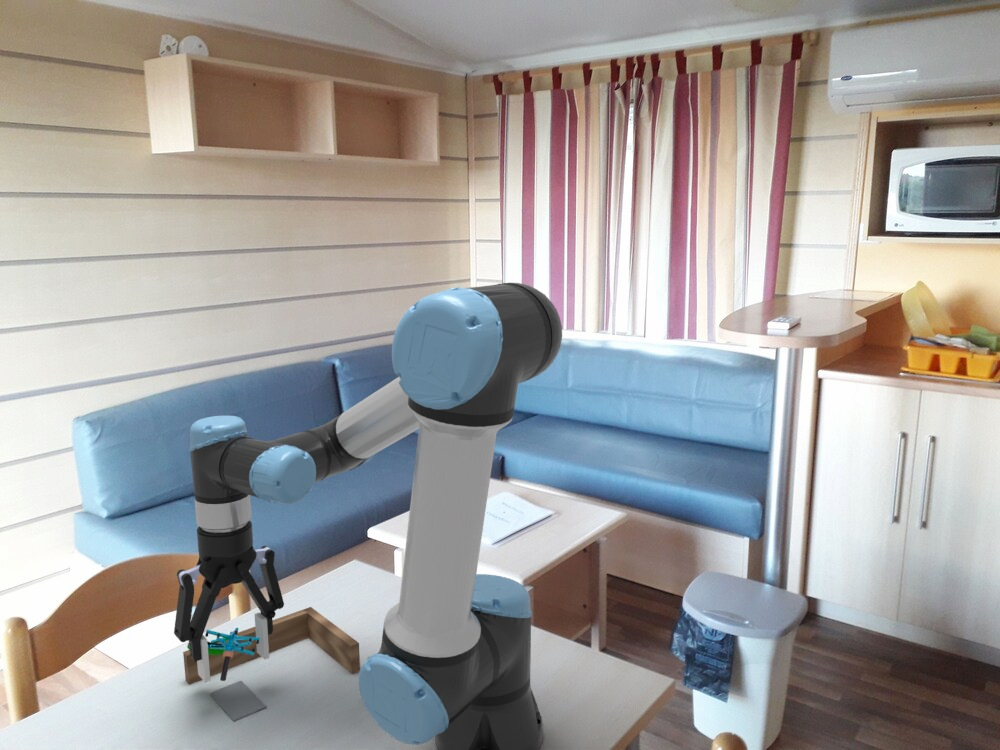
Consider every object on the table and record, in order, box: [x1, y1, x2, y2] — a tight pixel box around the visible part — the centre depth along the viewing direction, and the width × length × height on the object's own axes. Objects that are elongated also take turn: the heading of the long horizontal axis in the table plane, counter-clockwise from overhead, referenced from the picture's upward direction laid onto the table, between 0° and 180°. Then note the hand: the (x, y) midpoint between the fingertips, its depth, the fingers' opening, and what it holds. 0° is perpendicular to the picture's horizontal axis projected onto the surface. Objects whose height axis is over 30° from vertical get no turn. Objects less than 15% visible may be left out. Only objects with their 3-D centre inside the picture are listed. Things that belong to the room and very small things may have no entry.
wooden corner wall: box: [182, 606, 361, 686], centre depth 124 cm, size 16×22×5 cm
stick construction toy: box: [186, 627, 260, 682], centre depth 116 cm, size 12×7×8 cm
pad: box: [209, 680, 267, 722], centre depth 118 cm, size 9×5×1 cm, turn 41°
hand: (234, 665), depth 117 cm, fingers closed on stick construction toy, 8 cm apart
